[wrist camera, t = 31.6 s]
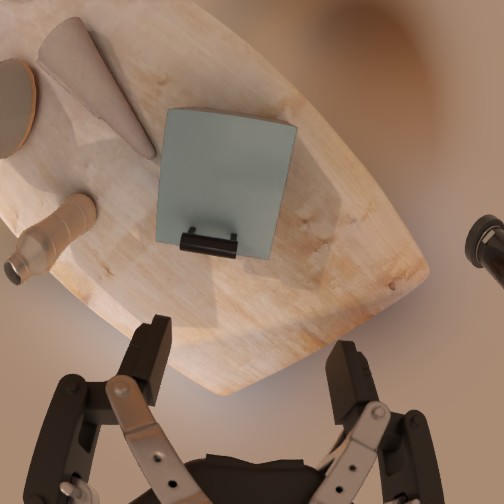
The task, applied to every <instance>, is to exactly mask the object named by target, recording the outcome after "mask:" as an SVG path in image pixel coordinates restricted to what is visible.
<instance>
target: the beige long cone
mask: <svg viewBox="0 0 504 504" xmlns="http://www.w3.org/2000/svg"><path fill="white" fill-rule="evenodd" d="M36 63H37V64H38V65H39V66H40V67H41V68H42V69H43V70H44V71H46V72H47V73H48V74H49V75H50V76H51V77H52V78H53V79H54V80H56V81H57V82H58V83H59V84H60V85H61V86H62V87H63V88H64V89H66V90H67V91H68V92H69V93H70V94H71V95H72V96H73V97H74V98H76V99H77V100H78V101H79V102H80V103H81V104H82V105H83V106H84V107H86V108H87V109H88V110H89V111H90V112H91V113H92V114H93V115H94V116H96V117H97V118H98V119H101V118H102V119H103V120H104V121H105V122H106V123H107V124H108V125H109V126H110V127H111V128H112V129H113V130H114V131H116V132H117V133H118V134H119V135H120V136H121V137H122V138H123V139H125V140H126V141H127V142H128V143H129V144H130V145H131V146H132V147H133V148H134V149H135V150H136V151H137V152H138V153H139V154H140V155H142V156H143V157H145V158H146V159H148V160H153V159H154V158H155V156H156V153H155V150H154V148H153V146H152V145H151V143H150V141H149V139H148V138H147V136H146V134H145V132H144V130H143V129H142V127H141V125H140V123H139V122H138V120H137V118H136V117H135V115H134V113H133V112H132V110H131V108H130V106H129V105H128V103H127V101H126V100H125V98H124V96H123V94H122V93H121V91H120V89H119V88H118V86H117V84H116V82H115V81H114V79H113V77H112V75H111V74H110V72H109V70H108V68H107V67H106V65H105V63H104V61H103V59H102V58H101V56H100V54H99V52H98V50H97V49H96V47H95V45H94V43H93V41H92V40H91V37H90V35H89V34H88V32H87V30H86V28H85V26H84V24H83V23H82V21H81V19H80V18H79V17H72V18H69V19H67V20H65V21H64V22H62V23H61V24H59V25H58V26H57V27H56V28H54V29H53V30H52V31H51V33H50V34H49V35H48V36H47V37H46V39H45V40H44V42H43V43H42V45H41V47H40V50H39V53H38V59H37V61H36Z"/></svg>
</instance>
